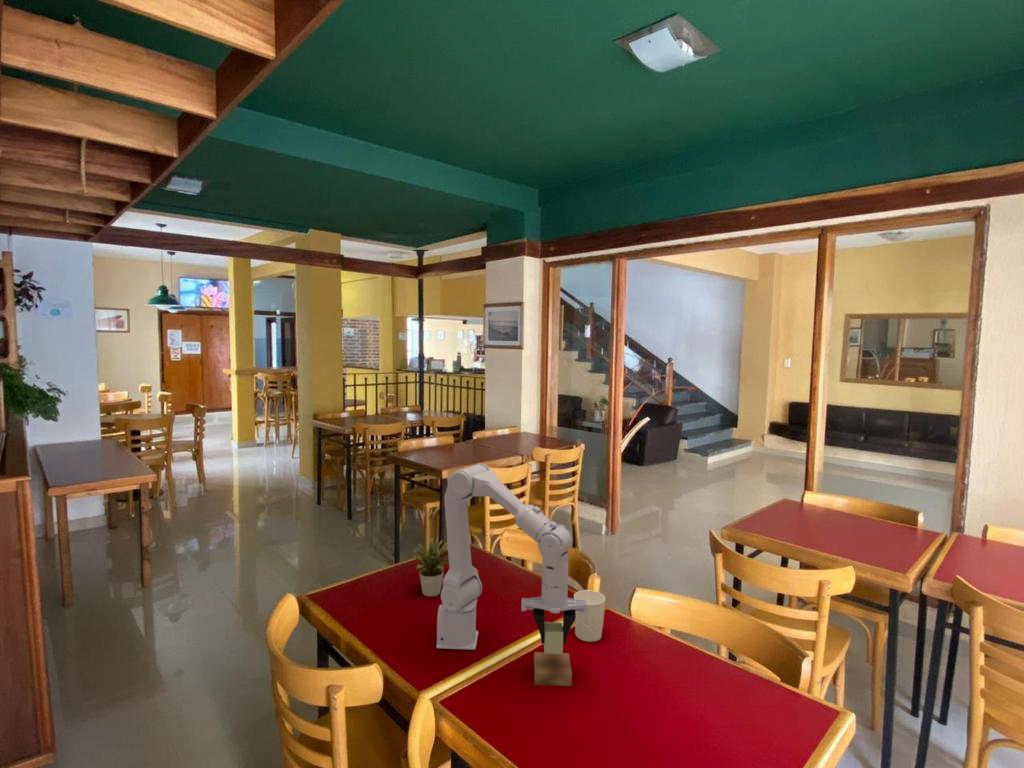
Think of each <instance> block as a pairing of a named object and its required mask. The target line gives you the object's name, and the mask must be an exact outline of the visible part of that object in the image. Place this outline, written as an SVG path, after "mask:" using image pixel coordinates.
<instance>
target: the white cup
mask: <svg viewBox="0 0 1024 768" xmlns="http://www.w3.org/2000/svg"><path fill="white" fill-rule="evenodd" d="M573 599H577V600H584V601H587V605H588V607H587V613H582V611H575V614H576V618H575V621H574V635H575V636H576V638H577V639H579V640H581V641H583V642H588V643H589V642H597V641H599V640H601V639H602V634H603V626H604V622H605V620H604V618H605V608H606V596H605V595H604V594H602V593H601V592H599V591H596V590H591V589H585V590H584V589H583V590H582V589H581V590H579V591H576V592H575V593H574V594H573Z"/></svg>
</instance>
